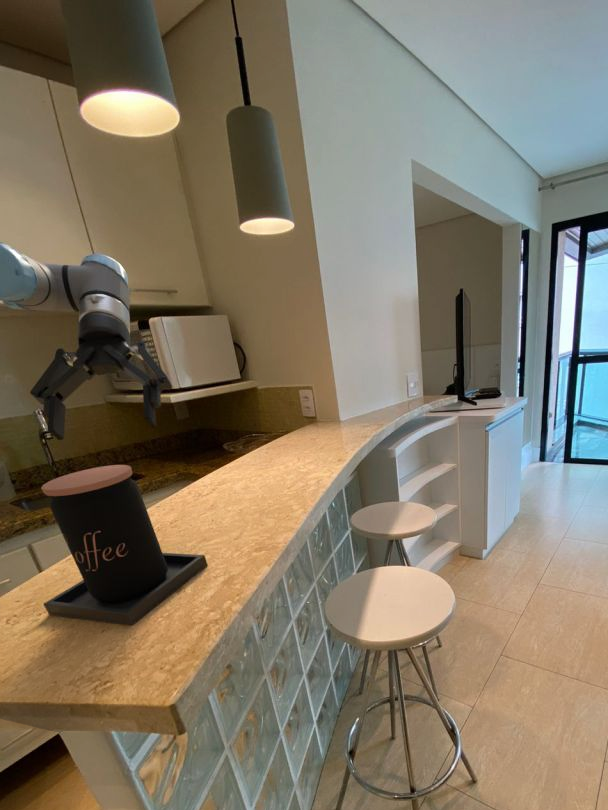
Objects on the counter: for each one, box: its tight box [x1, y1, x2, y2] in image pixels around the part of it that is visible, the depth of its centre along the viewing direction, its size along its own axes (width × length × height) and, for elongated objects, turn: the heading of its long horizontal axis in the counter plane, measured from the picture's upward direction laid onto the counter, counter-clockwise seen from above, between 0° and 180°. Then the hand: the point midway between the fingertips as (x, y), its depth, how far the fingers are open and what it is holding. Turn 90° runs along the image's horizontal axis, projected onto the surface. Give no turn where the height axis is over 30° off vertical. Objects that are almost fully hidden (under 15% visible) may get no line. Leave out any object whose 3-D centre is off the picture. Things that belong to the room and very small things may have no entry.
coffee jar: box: [40, 464, 168, 604], centre depth 60 cm, size 11×11×18 cm
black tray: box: [43, 552, 208, 626], centre depth 63 cm, size 16×16×2 cm
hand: (103, 428), depth 64 cm, fingers open, 13 cm apart
